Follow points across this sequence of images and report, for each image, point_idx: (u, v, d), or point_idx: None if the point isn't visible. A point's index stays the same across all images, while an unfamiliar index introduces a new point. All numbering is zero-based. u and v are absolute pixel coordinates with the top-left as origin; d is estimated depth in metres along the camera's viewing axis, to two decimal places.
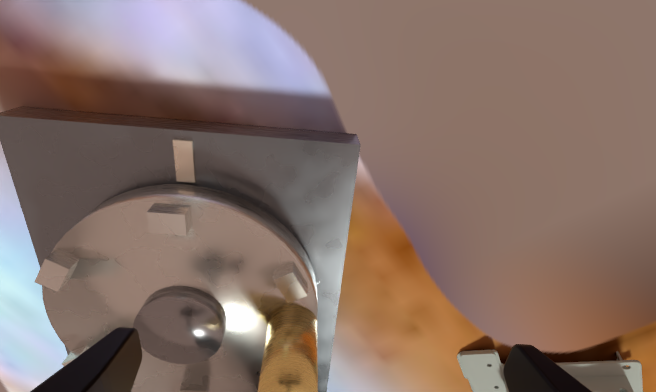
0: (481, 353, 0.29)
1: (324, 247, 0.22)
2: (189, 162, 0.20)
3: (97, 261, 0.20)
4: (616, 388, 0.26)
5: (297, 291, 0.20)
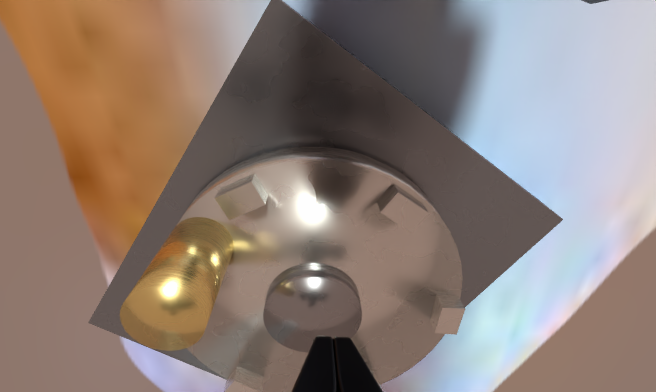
0: None
1: None
2: None
3: None
4: None
5: None
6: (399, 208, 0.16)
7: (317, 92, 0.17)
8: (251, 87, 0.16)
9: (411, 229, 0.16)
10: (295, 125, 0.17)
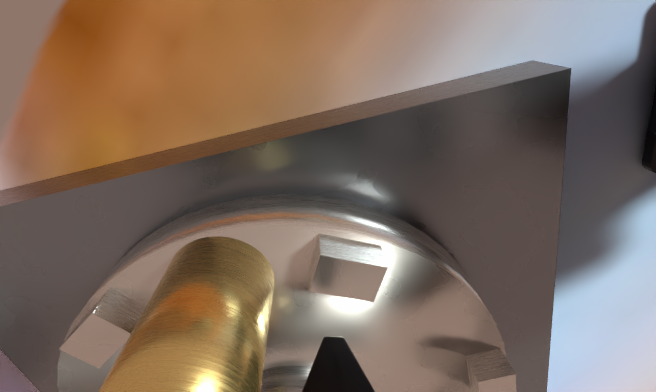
0: None
1: (107, 221, 0.12)
2: None
3: None
4: None
5: (94, 330, 0.10)
6: (498, 388, 0.12)
7: (496, 196, 0.12)
8: (445, 134, 0.11)
9: None
10: (442, 208, 0.12)
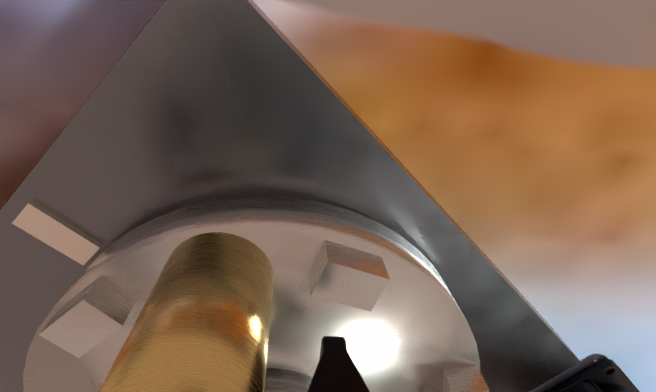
0: None
1: (348, 172, 0.12)
2: (61, 229, 0.12)
3: None
4: None
5: (82, 317, 0.09)
6: None
7: (490, 381, 0.17)
8: (521, 336, 0.16)
9: None
10: None
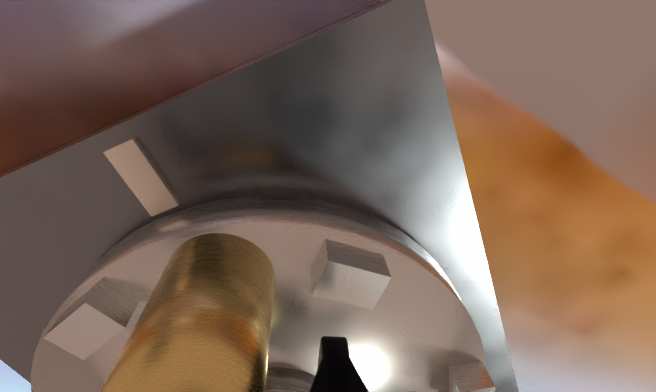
0: None
1: (435, 214, 0.13)
2: (151, 176, 0.11)
3: None
4: None
5: (85, 320, 0.09)
6: None
7: None
8: None
9: None
10: None
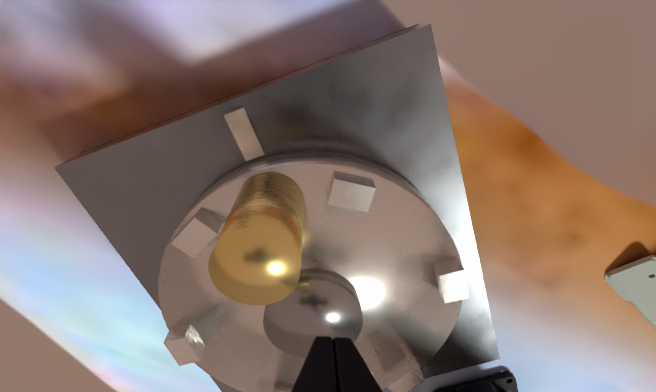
0: (634, 265, 0.23)
1: (433, 173, 0.18)
2: (250, 133, 0.17)
3: (272, 375, 0.21)
4: None
5: (194, 229, 0.16)
6: (454, 281, 0.17)
7: (439, 351, 0.24)
8: (474, 325, 0.23)
9: (446, 301, 0.18)
10: None
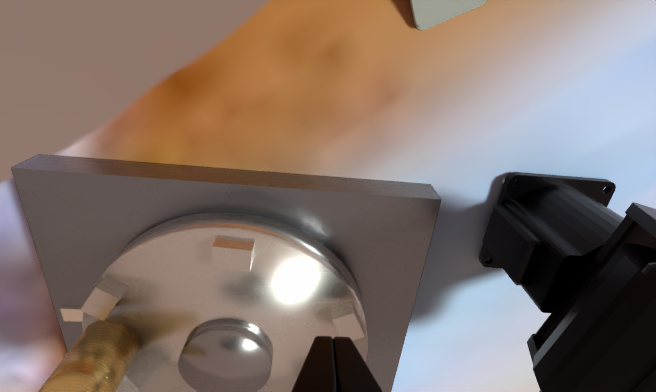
0: None
1: (155, 201, 0.19)
2: (81, 312, 0.22)
3: None
4: None
5: None
6: (224, 257, 0.17)
7: (388, 253, 0.21)
8: (369, 212, 0.20)
9: (248, 269, 0.17)
10: (357, 252, 0.21)
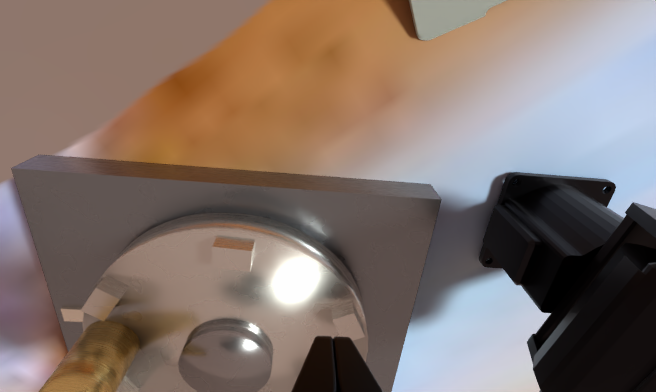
0: (413, 2, 0.17)
1: (156, 202, 0.19)
2: (81, 312, 0.22)
3: None
4: None
5: None
6: (224, 258, 0.17)
7: (388, 253, 0.21)
8: (369, 212, 0.20)
9: (248, 269, 0.17)
10: (357, 252, 0.21)
